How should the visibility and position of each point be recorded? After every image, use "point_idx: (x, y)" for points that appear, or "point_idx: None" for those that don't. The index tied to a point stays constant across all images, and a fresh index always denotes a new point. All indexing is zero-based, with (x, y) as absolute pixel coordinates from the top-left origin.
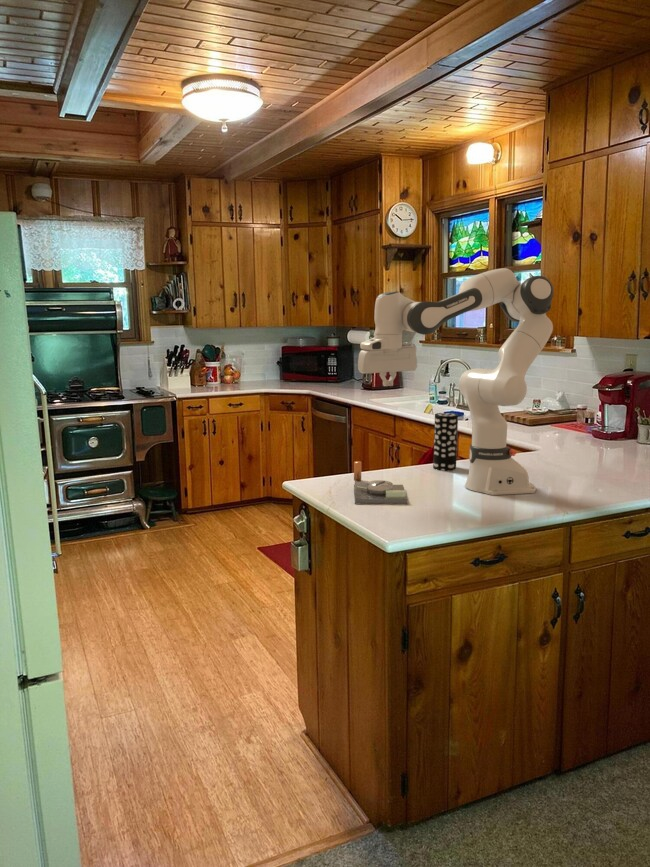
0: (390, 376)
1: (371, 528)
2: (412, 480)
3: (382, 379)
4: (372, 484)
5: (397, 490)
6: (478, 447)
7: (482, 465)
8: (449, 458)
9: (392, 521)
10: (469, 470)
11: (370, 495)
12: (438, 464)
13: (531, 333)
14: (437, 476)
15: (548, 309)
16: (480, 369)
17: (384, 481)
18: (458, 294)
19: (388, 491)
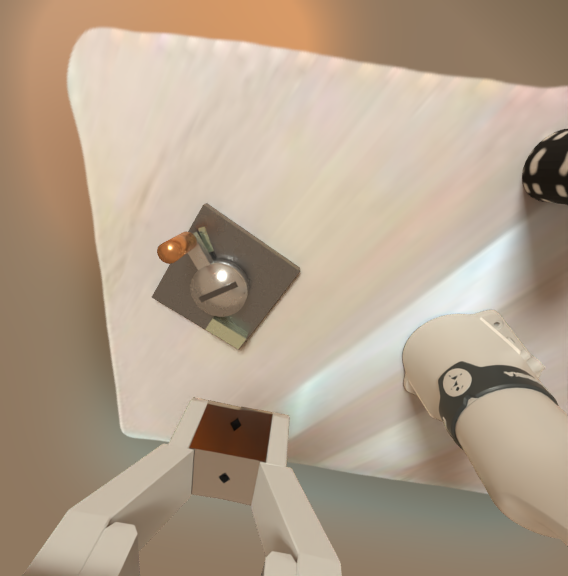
0: (281, 520)
1: (125, 393)
2: (374, 221)
3: (147, 468)
4: (199, 288)
5: (232, 332)
6: (455, 427)
7: (433, 403)
8: (565, 203)
9: (167, 389)
10: (436, 355)
11: (190, 295)
12: (535, 175)
13: None
14: (456, 227)
15: None
16: None
17: (234, 287)
18: None
19: (212, 328)
